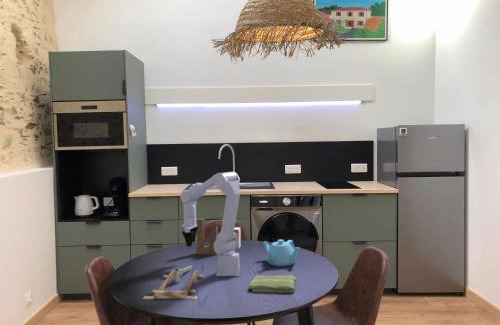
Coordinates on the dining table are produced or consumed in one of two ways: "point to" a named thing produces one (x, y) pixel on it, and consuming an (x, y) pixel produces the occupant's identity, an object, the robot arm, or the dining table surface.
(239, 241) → the small box
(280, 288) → the washcloth
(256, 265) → the dining table surface
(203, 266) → the dining table surface
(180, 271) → the caliper
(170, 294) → the rails
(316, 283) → the dining table surface
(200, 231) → the brown wooden frame
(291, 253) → the teapot
